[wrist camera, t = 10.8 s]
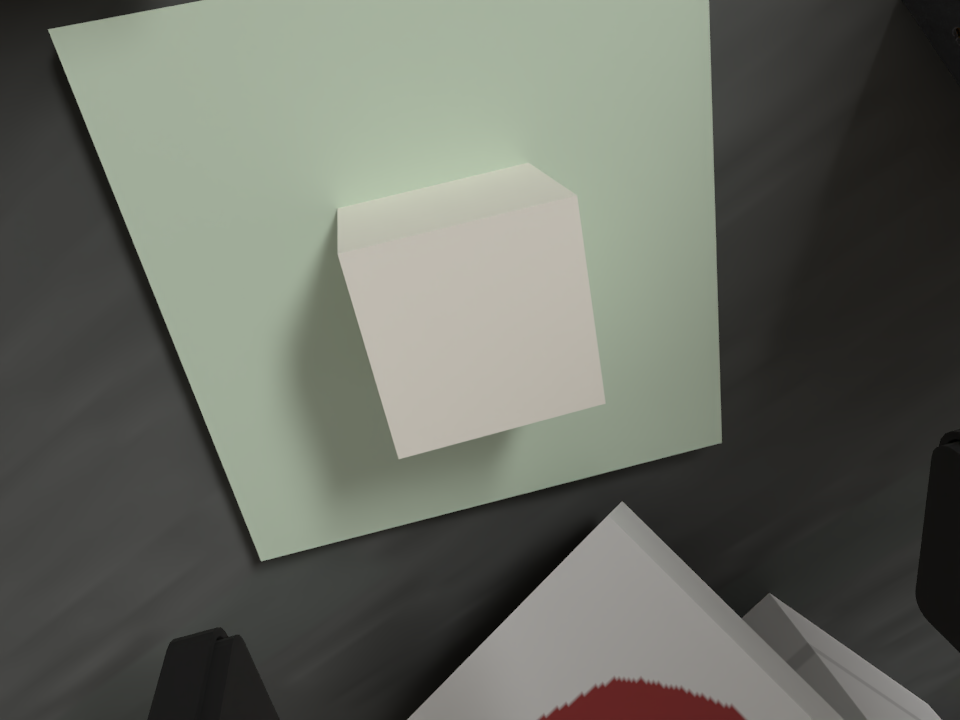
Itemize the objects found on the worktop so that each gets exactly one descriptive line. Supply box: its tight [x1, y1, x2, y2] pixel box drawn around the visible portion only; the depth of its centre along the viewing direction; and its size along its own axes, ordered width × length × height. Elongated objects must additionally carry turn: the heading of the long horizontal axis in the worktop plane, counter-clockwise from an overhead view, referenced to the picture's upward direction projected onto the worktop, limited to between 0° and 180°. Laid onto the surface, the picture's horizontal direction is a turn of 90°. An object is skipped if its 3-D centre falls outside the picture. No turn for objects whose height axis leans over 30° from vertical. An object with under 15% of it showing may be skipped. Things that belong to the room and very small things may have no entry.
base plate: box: [48, 0, 722, 561], centre depth 24 cm, size 18×18×1 cm
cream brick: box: [337, 163, 606, 459], centre depth 21 cm, size 6×6×5 cm
